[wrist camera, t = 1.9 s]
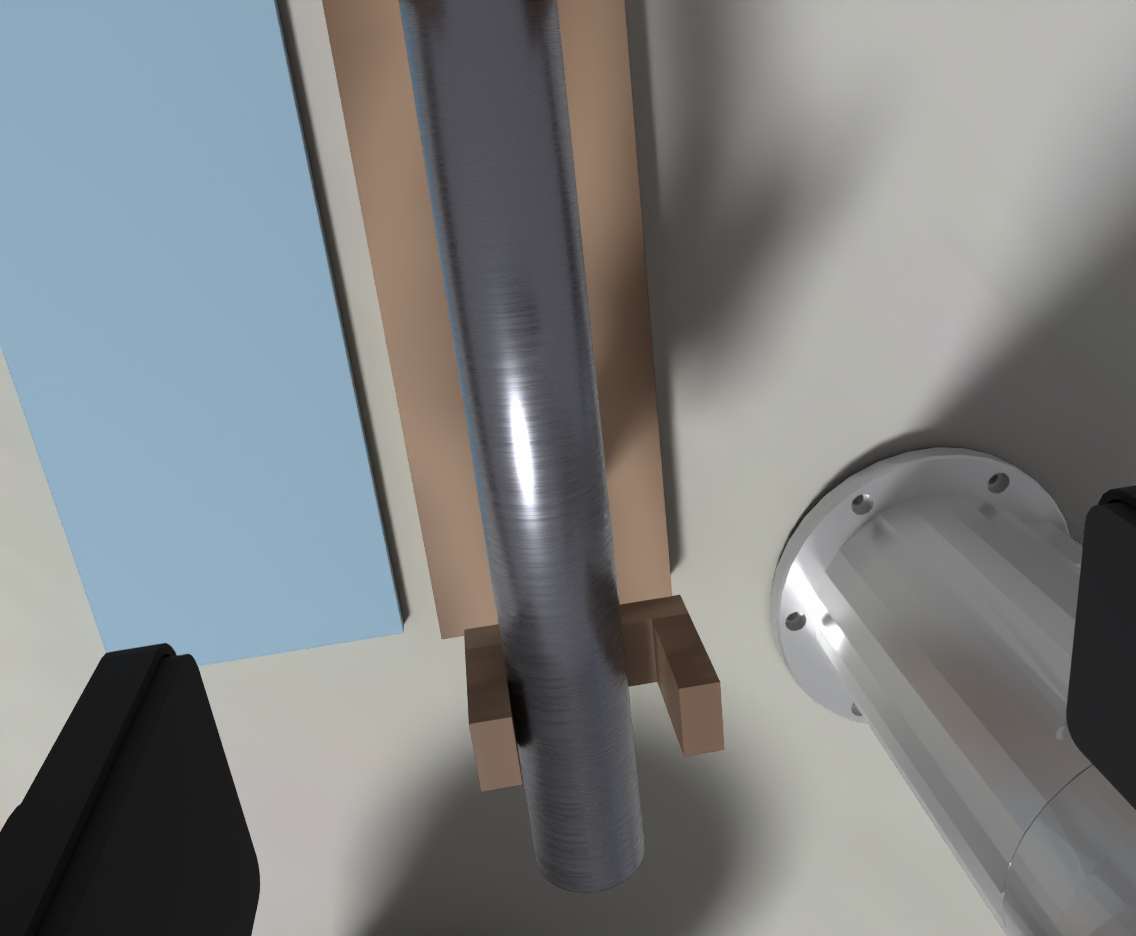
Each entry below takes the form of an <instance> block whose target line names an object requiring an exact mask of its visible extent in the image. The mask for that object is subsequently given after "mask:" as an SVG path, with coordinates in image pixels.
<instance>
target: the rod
mask: <svg viewBox="0 0 1136 936" xmlns="http://www.w3.org/2000/svg"><path fill="white" fill-rule="evenodd" d="M398 1H399V7H400V13H401V20H402V26H403V32H404V38H405V45H406V51H407V57H408V63H409V70H410V76H411V82H412V88H413V95H414V101H415V107H416V113H417V120H418V126H419V132H420V138H421V144H422V151H423V157H424V163H425V169H426V176H427V182H428V188H429V194H430V201H431V207H432V213H433V219H434V226H435V232H436V238H437V244H438V251H439V257H440V263H441V269H442V275H443V282H444V288H445V294H446V300H447V307H448V313H449V319H450V325H451V332H452V338H453V344H454V350H455V357H456V363H457V369H458V375H459V382H460V388H461V394H462V400H463V407H464V413H465V419H466V425H467V431H468V438H469V444H470V450H471V456H472V463H473V469H474V475H475V481H476V488H477V494H478V500H479V506H480V513H481V519H482V525H483V531H484V538H485V544H486V550H487V556H488V562H489V569H490V575H491V581H492V587H493V594H494V600H495V606H496V612H497V619H498V625H499V631H500V637H501V644H502V650H503V656H504V662H505V669H506V675H507V681H508V687H509V694H510V700H511V706H512V712H513V718H514V725H515V731H516V737H517V743H518V750H519V756H520V762H521V768H522V775H523V781H524V787H525V793H526V800H527V806H528V812H529V818H530V825H531V831H532V837H533V843H534V850H535V856H536V862H537V865H538V868H539V870H540V872H541V873H542V874H543V876H544V877H545V878H546V879H547V880H548V881H550V882H551V883H553V884H554V885H556V886H558V887H560V888H563V889H565V890H569V891H574V892H586V893H587V892H597V891H602V890H606V889H609V888H612V887H614V886H616V885H618V884H620V883H622V882H624V881H625V880H626V879H628V878H629V877H630V876H631V875H632V874H633V873H634V872H635V871H636V870H637V869H638V867H639V866H640V864H641V862H642V860H643V856H644V852H645V843H644V833H643V824H642V814H641V805H640V795H639V785H638V776H637V766H636V756H635V747H634V737H633V727H632V718H631V708H630V699H629V689H628V679H627V670H626V660H625V650H624V641H623V631H622V622H621V612H620V602H619V593H618V583H617V573H616V564H615V554H614V545H613V535H612V525H611V516H610V506H609V496H608V487H607V477H606V468H605V458H604V448H603V439H602V429H601V419H600V410H599V400H598V391H597V381H596V371H595V362H594V352H593V342H592V333H591V323H590V313H589V304H588V294H587V285H586V275H585V265H584V256H583V246H582V236H581V227H580V217H579V208H578V198H577V188H576V179H575V169H574V159H573V150H572V140H571V131H570V121H569V111H568V102H567V92H566V82H565V73H564V63H563V54H562V44H561V34H560V25H559V15H558V5H557V0H398Z"/></svg>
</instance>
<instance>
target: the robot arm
mask: <svg viewBox="0 0 1136 936" xmlns="http://www.w3.org/2000/svg"><path fill="white" fill-rule="evenodd" d="M857 496H858V497H857ZM856 497H857V498H856ZM855 498H856V499H855ZM854 499H855V500H854ZM770 621H771V626H772V631H773V636H774V641H775V644H776V647H777V649H778V651H779V653H780V655H781V657H782V660H783V662H784V664H785V666H786V667H787V669H788V670H789V672H790V673H791V675H792V676H793V678H794V680H795V681H796V683H797V684H798V686H799V687H800V688H801V689H802V690H803V691H804V692H805V693H806V694H807V695H808V696H809V697H810V698H811V699H812V700H813V701H814V702H816V703H818V704H819V705H821V706H822V707H824V708H825V709H827V710H829V711H830V712H832V713H833V714H835V715H838V716H840V717H843V718H845V719H848V720H850V721H854V722H857V723H863V724H868V725H869V726H870V728H871V730H872V731H873V733H874V734H875V736H876V737H877V739H878V740H879V742H880V743H881V745H882V746H883V748H884V749H885V751H886V752H887V754H888V756H889V757H890V759H891V760H892V762H893V763H894V765H895V766H896V768H897V769H898V771H899V772H900V774H901V775H902V777H903V778H904V780H905V782H906V783H907V785H908V786H909V788H910V789H911V791H912V792H913V794H914V795H915V797H916V798H917V800H918V801H919V803H920V804H921V806H922V808H923V809H924V811H925V812H926V814H927V815H928V817H929V818H930V820H931V821H932V823H933V824H934V826H935V827H936V829H937V830H938V832H939V834H940V835H941V837H942V838H943V840H944V841H945V843H946V844H947V846H948V847H949V849H950V850H951V852H952V853H953V855H954V856H955V858H956V860H957V861H958V863H959V864H960V866H961V867H962V869H963V870H964V872H965V873H966V875H967V876H968V878H969V879H970V881H971V882H972V884H973V886H974V887H975V889H976V890H977V892H978V893H979V895H980V896H981V898H982V899H983V901H984V902H985V904H986V905H987V907H988V908H989V910H990V912H991V913H992V915H993V916H994V918H995V919H996V921H997V922H998V924H999V925H1000V927H1001V928H1002V930H1003V931H1004V933H1005V934H1006V936H1136V486H1130V487H1123V488H1117V489H1111V490H1109V491H1107V492H1106V493H1104V494H1103V496H1102V498H1101V499H1100V501H1099V504H1098V505H1097V506H1094V507H1092V508H1091V509H1090V510H1089V512H1088V514H1087V517H1086V521H1085V530H1084V540H1083V547H1082V546H1081V545H1080V544H1078V543H1077V542H1076V541H1074V540H1073V539H1072V538H1070V535H1069V531H1068V528H1067V524H1066V521H1065V519H1064V517H1063V515H1062V513H1061V512H1060V510H1059V508H1058V506H1057V505H1056V503H1055V501H1054V499H1053V498H1052V497H1051V496H1050V495H1049V494H1048V493H1047V492H1046V491H1045V490H1044V489H1043V488H1042V487H1041V486H1040V485H1039V484H1038V483H1037V481H1035V480H1034V479H1033V478H1031V477H1030V476H1028V475H1027V474H1025V473H1024V472H1023V471H1021V470H1020V469H1018V468H1017V467H1016V466H1014V465H1012V464H1010V463H1008V462H1006V461H1004V460H1002V459H999V458H997V457H995V456H993V455H991V454H987V453H983V452H978V451H974V450H970V449H966V448H939V447H936V448H929V449H923V450H916V451H910V452H905V453H902V454H899V455H896V456H893V457H890V458H887V459H884V460H881V461H878V462H876V463H874V464H872V465H871V466H869V467H867V468H865V469H863V470H861V471H859V472H857V473H856V474H854V475H852V476H850V477H849V478H847V479H846V480H845V481H843V482H842V483H841V484H839V485H838V486H837V487H836V488H834V489H833V490H832V491H830V492H829V493H828V494H826V495H825V496H824V497H823V498H822V499H821V500H820V501H819V502H818V504H817V505H816V506H815V507H814V508H813V509H812V510H811V511H810V512H809V513H808V514H807V515H806V516H805V517H804V519H803V520H802V522H801V523H800V525H799V526H798V528H797V529H796V531H795V532H794V534H793V535H792V537H791V538H790V540H789V541H788V543H787V545H786V547H785V550H784V552H783V554H782V557H781V559H780V561H779V563H778V566H777V568H776V572H775V577H774V581H773V586H772V590H771V597H770ZM259 893H260V873H259V866H258V861H257V857H256V853H255V850H254V847H253V843H252V840H251V837H250V834H249V830H248V827H247V824H246V821H245V817H244V814H243V811H242V808H241V805H240V801H239V798H238V795H237V792H236V788H235V785H234V782H233V779H232V775H231V772H230V769H229V766H228V762H227V759H226V756H225V753H224V749H223V746H222V743H221V740H220V736H219V733H218V730H217V727H216V723H215V720H214V717H213V714H212V710H211V707H210V704H209V701H208V697H207V694H206V691H205V688H204V684H203V681H202V678H201V675H200V671H199V668H198V666H197V663H196V661H195V659H194V658H193V656H192V655H190V654H184V655H178V656H177V655H176V652H175V651H174V649H173V648H172V646H171V645H169V644H167V643H161V644H155V645H149V646H143V647H137V648H131V649H124V650H118V651H112V652H108V653H106V654H105V655H104V656H103V657H102V658H101V660H100V662H99V664H98V666H97V667H96V669H95V671H94V673H93V675H92V676H91V678H90V680H89V682H88V684H87V686H86V687H85V689H84V691H83V693H82V695H81V696H80V698H79V700H78V702H77V704H76V705H75V707H74V709H73V711H72V713H71V714H70V716H69V718H68V720H67V722H66V723H65V725H64V727H63V729H62V731H61V732H60V734H59V736H58V738H57V740H56V742H55V743H54V745H53V747H52V749H51V751H50V752H49V754H48V756H47V758H46V760H45V761H44V763H43V765H42V767H41V769H40V770H39V772H38V774H37V776H36V778H35V779H34V781H33V783H32V785H31V787H30V789H29V790H28V792H27V794H26V796H25V798H24V799H23V801H22V803H21V804H20V805H19V806H17V807H16V809H15V810H14V811H13V813H12V814H11V815H10V816H9V818H8V819H7V821H6V823H5V825H4V826H3V828H2V830H1V832H0V936H251V934H252V929H253V924H254V919H255V914H256V910H257V905H258V900H259Z"/></svg>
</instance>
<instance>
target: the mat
mask: <svg viewBox="0 0 1136 936" xmlns="http://www.w3.org/2000/svg"><path fill="white" fill-rule="evenodd" d="M0 346H1V348H2V351H3V354H4V357H5V360H6V363H7V366H8V369H9V372H10V375H11V377H12V380H13V383H14V386H15V389H16V392H17V395H18V398H19V401H20V404H21V407H22V409H23V412H24V415H25V418H26V421H27V424H28V427H29V430H30V433H31V436H32V439H33V441H34V444H35V447H36V450H37V453H38V456H39V459H40V462H41V465H42V468H43V470H44V473H45V476H46V479H47V482H48V485H49V488H50V491H51V494H52V497H53V500H54V502H55V505H56V508H57V511H58V514H59V517H60V520H61V523H62V526H63V529H64V532H65V534H66V537H67V540H68V543H69V546H70V549H71V552H72V555H73V558H74V561H75V564H76V566H77V569H78V572H79V575H80V578H81V581H82V584H83V587H84V590H85V593H86V595H87V598H88V601H89V604H90V607H91V610H92V613H93V616H94V619H95V622H96V625H97V627H98V630H99V633H100V636H101V639H102V642H103V645H104V648H105V651H106V653H108V652H112V651H118V650H124V649H131V648H137V647H143V646H149V645H155V644H161V643H167V644H169V645H171V646H172V648H173V649H174V651H175V652H176V655H177V656H178V655H184V654H190V655H192V656H193V658H194V659H195V661H196V663H197V666H202V665H208V664H214V663H221V662H227V661H233V660H239V659H245V658H252V657H258V656H264V655H270V654H277V653H283V652H289V651H295V650H301V649H308V648H314V647H320V646H326V645H333V644H339V643H345V642H351V641H357V640H364V639H370V638H376V637H382V636H389V635H395V634H401V633H403V631H404V624H403V619H402V614H401V609H400V604H399V599H398V594H397V589H396V584H395V579H394V574H393V569H392V565H391V560H390V555H389V550H388V545H387V540H386V535H385V530H384V525H383V520H382V515H381V511H380V506H379V501H378V496H377V491H376V486H375V481H374V476H373V471H372V466H371V461H370V457H369V452H368V447H367V442H366V437H365V432H364V427H363V422H362V417H361V412H360V407H359V402H358V398H357V393H356V388H355V383H354V378H353V373H352V368H351V363H350V358H349V353H348V348H347V344H346V339H345V334H344V329H343V324H342V319H341V314H340V309H339V304H338V299H337V294H336V290H335V285H334V280H333V275H332V270H331V265H330V260H329V255H328V250H327V245H326V240H325V236H324V231H323V226H322V221H321V216H320V211H319V206H318V201H317V196H316V191H315V186H314V181H313V177H312V172H311V167H310V162H309V157H308V152H307V147H306V142H305V137H304V132H303V127H302V123H301V118H300V113H299V108H298V103H297V98H296V93H295V88H294V83H293V78H292V73H291V69H290V64H289V59H288V54H287V49H286V44H285V39H284V34H283V29H282V24H281V19H280V14H279V10H278V5H277V0H0Z"/></svg>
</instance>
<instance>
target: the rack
mask: <svg viewBox="0 0 1136 936" xmlns="http://www.w3.org/2000/svg"><path fill="white" fill-rule="evenodd" d="M322 2H323V7H324V13H325V18H326V23H327V29H328V34H329V39H330V45H331V50H332V55H333V61H334V66H335V71H336V77H337V82H338V87H339V93H340V98H341V103H342V109H343V114H344V119H345V125H346V130H347V135H348V141H349V146H350V151H351V157H352V162H353V167H354V173H355V178H356V184H357V189H358V194H359V200H360V205H361V210H362V216H363V221H364V226H365V232H366V237H367V242H368V248H369V253H370V258H371V264H372V269H373V274H374V280H375V285H376V290H377V296H378V301H379V306H380V312H381V317H382V322H383V328H384V333H385V338H386V344H387V349H388V354H389V360H390V365H391V370H392V376H393V381H394V386H395V392H396V397H397V402H398V408H399V413H400V418H401V424H402V429H403V434H404V440H405V445H406V450H407V456H408V461H409V466H410V472H411V477H412V482H413V488H414V493H415V498H416V504H417V509H418V514H419V520H420V525H421V530H422V536H423V541H424V546H425V552H426V557H427V562H428V568H429V573H430V578H431V584H432V589H433V594H434V600H435V605H436V610H437V616H438V621H439V626H440V632H441V637H442V639H447V638H453V637H459V636H464V638H465V657H466V676H467V696H468V715H469V727H470V733H471V738H472V744H473V749H474V755H475V760H476V766H477V771H478V777H479V782H480V787H481V792H483V791H489V790H495V789H500V788H506V787H512V786H518V785H522V778H521V769H520V761H519V753H518V745H517V737H516V731H515V725H514V718H513V712H512V706H511V700H510V694H509V687H508V681H507V675H506V669H505V662H504V656H503V650H502V644H501V637H500V631H499V625H498V619H497V612H496V606H495V600H494V594H493V587H492V581H491V575H490V569H489V562H488V556H487V550H486V544H485V538H484V531H483V525H482V519H481V513H480V506H479V500H478V494H477V488H476V481H475V475H474V469H473V463H472V456H471V450H470V444H469V438H468V431H467V425H466V419H465V413H464V407H463V400H462V394H461V388H460V382H459V375H458V369H457V363H456V357H455V350H454V344H453V338H452V332H451V325H450V319H449V313H448V307H447V300H446V294H445V288H444V282H443V275H442V269H441V263H440V257H439V251H438V244H437V238H436V232H435V226H434V219H433V213H432V207H431V201H430V194H429V188H428V182H427V176H426V169H425V163H424V157H423V151H422V144H421V138H420V132H419V126H418V120H417V113H416V107H415V101H414V95H413V88H412V82H411V76H410V70H409V63H408V57H407V51H406V45H405V38H404V32H403V26H402V20H401V13H400V7H399V1H398V0H322ZM557 5H558V15H559V25H560V34H561V44H562V54H563V63H564V73H565V82H566V92H567V102H568V111H569V121H570V131H571V140H572V150H573V159H574V169H575V179H576V188H577V198H578V208H579V217H580V227H581V236H582V246H583V256H584V265H585V275H586V285H587V294H588V304H589V313H590V323H591V333H592V342H593V352H594V362H595V371H596V381H597V391H598V400H599V410H600V419H601V429H602V439H603V448H604V458H605V468H606V477H607V487H608V496H609V506H610V516H611V525H612V535H613V545H614V554H615V564H616V573H617V583H618V593H619V602H620V612H621V622H622V631H623V641H624V650H625V660H626V670H627V679H628V687H629V686H635V685H641V684H647V683H653V682H658V685H659V688H660V690H661V693H662V696H663V699H664V702H665V704H666V707H667V710H668V713H669V715H670V718H671V721H672V724H673V727H674V729H675V732H676V735H677V738H678V741H679V743H680V746H681V749H682V752H683V754H684V757H685V756H691V755H697V754H703V753H708V752H714V751H720V750H724V738H723V722H722V705H721V689H720V681H719V679H718V676H717V674H716V672H715V670H714V668H713V665H712V663H711V661H710V659H709V657H708V655H707V652H706V650H705V648H704V646H703V644H702V642H701V639H700V637H699V635H698V633H697V631H696V629H695V626H694V624H693V622H692V620H691V618H690V615H689V613H688V611H687V609H686V607H685V605H684V602H683V600H682V598H681V596H680V595H676V596H672V589H671V576H670V563H669V551H668V538H667V526H666V513H665V501H664V488H663V476H662V463H661V451H660V438H659V426H658V413H657V401H656V388H655V376H654V363H653V351H652V338H651V325H650V313H649V300H648V288H647V275H646V263H645V250H644V238H643V225H642V213H641V200H640V188H639V175H638V163H637V150H636V138H635V125H634V112H633V100H632V87H631V75H630V62H629V50H628V37H627V25H626V12H625V0H557Z"/></svg>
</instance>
